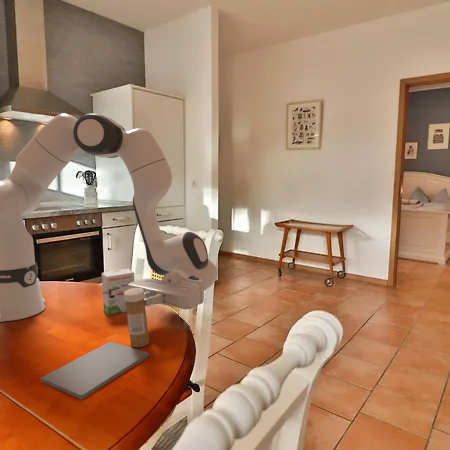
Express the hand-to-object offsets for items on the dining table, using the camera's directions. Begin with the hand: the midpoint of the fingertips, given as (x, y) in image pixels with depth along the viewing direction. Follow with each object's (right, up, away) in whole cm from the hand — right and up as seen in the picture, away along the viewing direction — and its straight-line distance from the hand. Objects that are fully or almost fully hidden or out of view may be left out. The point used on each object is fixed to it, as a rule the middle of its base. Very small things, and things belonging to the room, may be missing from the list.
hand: (141, 302), depth 87 cm
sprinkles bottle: (-1, -10, 0) cm, 10 cm away
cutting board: (-7, -12, -10) cm, 17 cm away
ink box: (-12, -7, +22) cm, 26 cm away
